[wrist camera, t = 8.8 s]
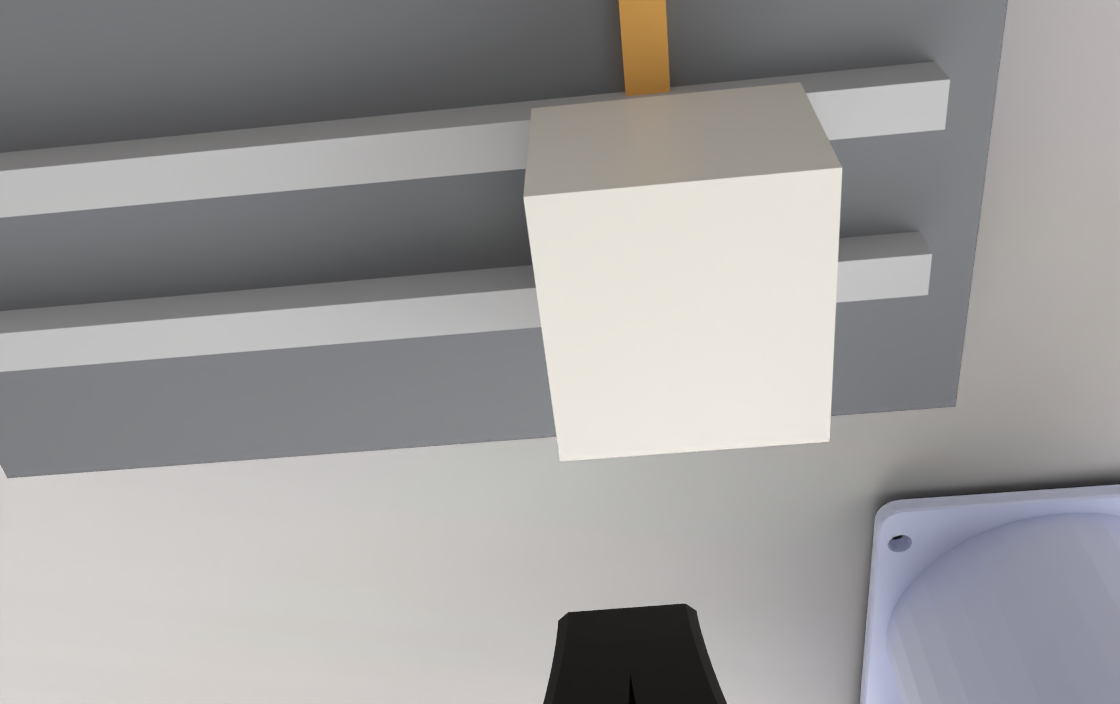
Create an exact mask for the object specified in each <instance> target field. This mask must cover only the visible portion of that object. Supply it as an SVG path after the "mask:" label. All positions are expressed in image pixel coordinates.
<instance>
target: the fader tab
mask: <svg viewBox="0 0 1120 704" xmlns="http://www.w3.org/2000/svg"><path fill="white" fill-rule="evenodd" d="M841 186H842V166H841V164H840V162H839V160H838V158H837V156H836V154H835V152H834V150H833V148H832V146H831V144H830V141H829V139H828V137H827V135H826V133H825V131H824V129H823V127H822V125H821V123H820V121H819V119H818V117H817V115H816V113H815V111H814V109H813V107H812V105H811V103H810V101H809V99H808V97H807V95H806V93H805V91H804V89H803V87H802V85H801V83H800V82H797V83H786V84H776V85H766V86H756V87H745V88H735V89H725V90H715V91H704V92H694V93H684V94H673V95H663V96H653V97H643V98H632V99H622V100H612V101H602V102H591V103H581V104H571V105H561V106H550V107H540V108H531V119H530V130H529V141H528V151H527V162H526V173H525V184H524V195H523V198H524V205H525V213H526V220H527V227H528V234H529V241H530V249H531V256H532V263H533V270H534V277H535V285H536V292H537V299H538V306H539V314H540V321H541V328H542V335H543V342H544V350H545V357H546V364H547V371H548V378H549V386H550V393H551V400H552V407H553V414H554V422H555V429H556V436H557V443H558V450H559V458H560V462H561V461H575V460H588V459H602V458H615V457H629V456H642V455H656V454H669V453H683V452H696V451H710V450H724V449H737V448H751V447H764V446H778V445H791V444H805V443H818V442H830V423H831V401H832V380H833V358H834V337H835V315H836V294H837V272H838V250H839V229H840V207H841Z"/></svg>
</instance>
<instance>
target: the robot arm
mask: <svg viewBox="0 0 1120 704" xmlns="http://www.w3.org/2000/svg"><path fill="white" fill-rule="evenodd" d="M899 535H905V536H903V537H902V538H900V539H896V540H892V538H893V537H895V536H899ZM543 704H727V703H726V700H725V698H724V696H723V693H722V691H721V688H720V686H719V683H718V680H717V678H716V675H715V672H714V670H713V667H712V664H711V661H710V658H709V655H708V653H707V649H706V646H705V643H704V639H703V636H702V633H701V629H700V625H699V621H698V617H697V612H696V610H694V609H693V608H691V607H690V606H688V605H687V604H673V605H660V606H646V607H633V608H619V609H606V610H593V611H579V612H568V613H567V614H566V615H565V616H563V617H562V618H561V619H560V620H559V621H558V630H557V639H556V646H555V652H554V657H553V663H552V668H551V673H550V678H549V682H548V687H547V691H546V695H545V699H544V703H543ZM860 704H1120V484H1118V485H1104V486H1089V487H1075V488H1061V489H1046V490H1032V491H1018V492H1003V493H989V494H975V495H960V496H946V497H932V498H917V499H903V500H896V501H891V502H889V503H887V504H885V505H883V506H882V507H881V508H880V509H879V510H878V511H877V513H876V516H875V523H874V535H873V548H872V560H871V572H870V584H869V597H868V609H867V621H866V633H865V646H864V658H863V670H862V682H861V695H860Z"/></svg>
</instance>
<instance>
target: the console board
mask: <svg viewBox="0 0 1120 704" xmlns="http://www.w3.org/2000/svg"><path fill="white" fill-rule="evenodd" d="M1007 2H1008V0H0V465H1V467H2V468H3V470H4V472H5V474H6V476H7V478H15V477H28V476H41V475H55V474H68V473H81V472H94V471H108V470H121V469H134V468H147V467H161V466H174V465H187V464H200V463H214V462H227V461H240V460H253V459H267V458H280V457H293V456H306V455H320V454H333V453H346V452H359V451H373V450H386V449H399V448H412V447H426V446H439V445H452V444H465V443H479V442H492V441H505V440H518V439H532V438H545V437H557V436H556V429H555V422H554V414H553V407H552V400H551V393H550V386H549V378H548V371H547V364H546V357H545V350H544V342H543V335H542V328H541V321H540V314H539V306H538V299H537V292H536V285H535V277H534V270H533V263H532V256H531V249H530V241H529V234H528V227H527V220H526V213H525V205H524V198H523V195H524V184H525V173H526V162H527V151H528V141H529V130H530V119H531V108H540V107H550V106H561V105H571V104H581V103H591V102H602V101H612V100H622V99H632V98H643V97H653V96H663V95H673V94H684V93H694V92H704V91H715V90H725V89H735V88H745V87H756V86H766V85H776V84H786V83H797V82H800V83H801V85H802V87H803V89H804V91H805V93H806V95H807V97H808V99H809V101H810V103H811V105H812V107H813V109H814V111H815V113H816V115H817V117H818V119H819V121H820V123H821V125H822V127H823V129H824V131H825V133H826V135H827V137H828V139H829V141H830V144H831V146H832V148H833V150H834V152H835V154H836V156H837V158H838V160H839V162H840V164H841V166H842V186H841V207H840V229H839V250H838V272H837V294H836V315H835V337H834V358H833V380H832V401H831V416H836V415H849V414H863V413H876V412H889V411H902V410H916V409H929V408H942V407H955V406H956V398H957V390H958V382H959V375H960V367H961V359H962V351H963V344H964V336H965V328H966V320H967V313H968V305H969V297H970V289H971V281H972V274H973V266H974V258H975V250H976V243H977V235H978V227H979V219H980V212H981V204H982V196H983V188H984V181H985V173H986V165H987V157H988V150H989V142H990V134H991V126H992V119H993V111H994V103H995V95H996V88H997V80H998V72H999V64H1000V57H1001V49H1002V41H1003V33H1004V26H1005V18H1006V10H1007Z"/></svg>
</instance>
